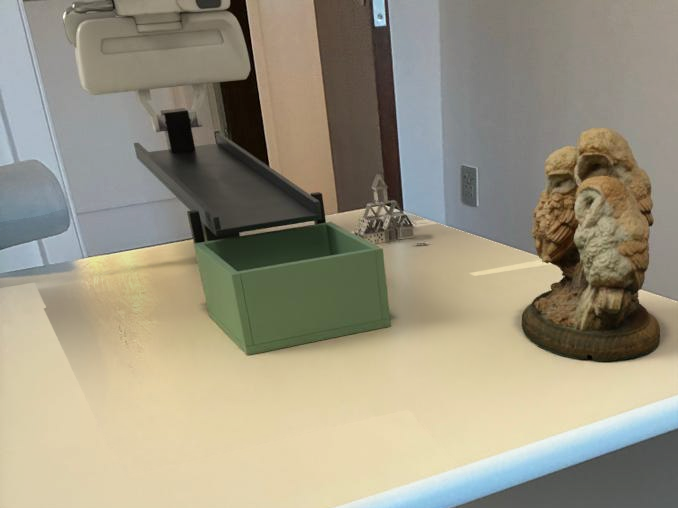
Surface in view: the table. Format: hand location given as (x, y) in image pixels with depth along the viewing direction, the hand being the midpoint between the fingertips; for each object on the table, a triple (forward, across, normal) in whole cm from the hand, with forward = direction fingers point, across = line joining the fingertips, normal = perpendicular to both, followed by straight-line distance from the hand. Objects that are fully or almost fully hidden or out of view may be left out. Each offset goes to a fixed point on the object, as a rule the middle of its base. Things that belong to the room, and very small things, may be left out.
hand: (178, 129), depth 119 cm
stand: (+14, 0, -23) cm, 26 cm away
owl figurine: (+14, +22, -61) cm, 66 cm away
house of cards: (+14, +20, -16) cm, 29 cm away
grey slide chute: (+4, 0, -17) cm, 18 cm away
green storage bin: (+14, 0, -41) cm, 43 cm away
